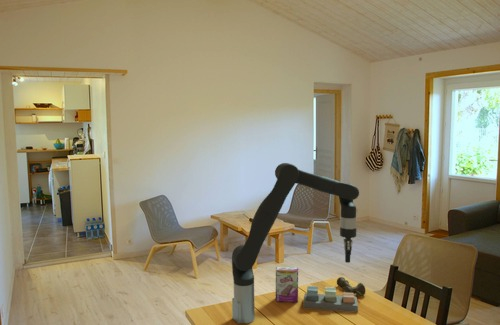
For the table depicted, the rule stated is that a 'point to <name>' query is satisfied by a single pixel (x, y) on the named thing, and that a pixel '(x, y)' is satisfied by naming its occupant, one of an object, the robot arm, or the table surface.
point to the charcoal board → (330, 304)
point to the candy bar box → (286, 284)
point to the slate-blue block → (312, 293)
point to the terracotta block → (348, 297)
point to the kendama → (349, 289)
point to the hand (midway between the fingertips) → (347, 261)
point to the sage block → (330, 294)
